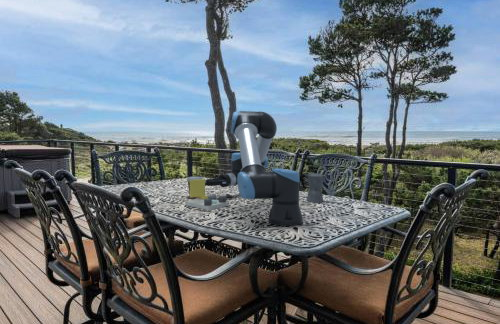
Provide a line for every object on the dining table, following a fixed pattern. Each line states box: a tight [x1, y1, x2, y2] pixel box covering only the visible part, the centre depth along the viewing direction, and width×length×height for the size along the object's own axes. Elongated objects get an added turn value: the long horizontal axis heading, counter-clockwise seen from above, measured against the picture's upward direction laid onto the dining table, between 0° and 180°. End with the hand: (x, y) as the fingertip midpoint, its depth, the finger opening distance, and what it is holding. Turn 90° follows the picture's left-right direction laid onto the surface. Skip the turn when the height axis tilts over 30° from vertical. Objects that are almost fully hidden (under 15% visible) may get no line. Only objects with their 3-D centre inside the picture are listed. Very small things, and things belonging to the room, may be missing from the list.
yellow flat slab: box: [189, 178, 218, 200], centre depth 189 cm, size 14×5×12 cm, turn 117°
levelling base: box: [184, 195, 230, 211], centre depth 191 cm, size 18×15×5 cm
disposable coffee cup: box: [186, 176, 203, 199], centre depth 214 cm, size 10×10×12 cm
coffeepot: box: [299, 169, 328, 204], centre depth 203 cm, size 15×9×18 cm, turn 79°
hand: (196, 184), depth 192 cm, fingers closed
